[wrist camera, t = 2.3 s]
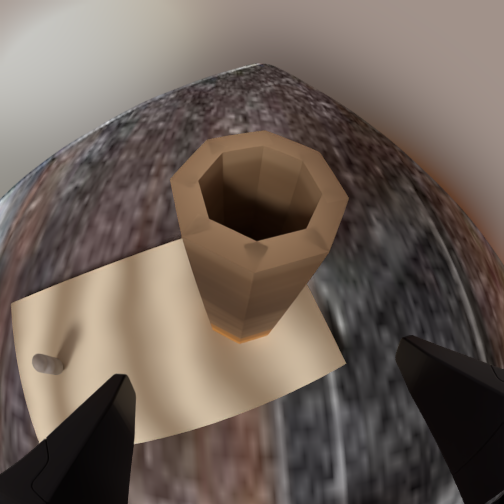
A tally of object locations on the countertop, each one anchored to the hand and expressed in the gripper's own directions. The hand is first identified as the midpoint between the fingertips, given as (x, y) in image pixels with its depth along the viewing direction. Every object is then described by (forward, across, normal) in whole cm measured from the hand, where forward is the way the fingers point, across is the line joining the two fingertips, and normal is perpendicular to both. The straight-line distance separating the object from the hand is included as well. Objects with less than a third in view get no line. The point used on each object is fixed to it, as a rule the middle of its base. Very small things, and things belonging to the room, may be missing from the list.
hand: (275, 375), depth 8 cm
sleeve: (+11, 0, +4) cm, 12 cm away
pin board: (+11, +8, +7) cm, 15 cm away
